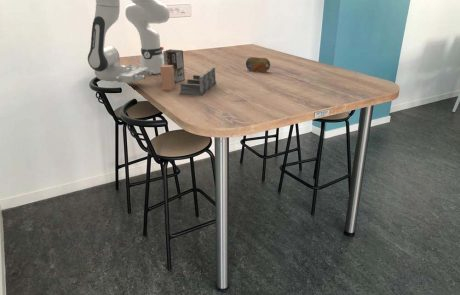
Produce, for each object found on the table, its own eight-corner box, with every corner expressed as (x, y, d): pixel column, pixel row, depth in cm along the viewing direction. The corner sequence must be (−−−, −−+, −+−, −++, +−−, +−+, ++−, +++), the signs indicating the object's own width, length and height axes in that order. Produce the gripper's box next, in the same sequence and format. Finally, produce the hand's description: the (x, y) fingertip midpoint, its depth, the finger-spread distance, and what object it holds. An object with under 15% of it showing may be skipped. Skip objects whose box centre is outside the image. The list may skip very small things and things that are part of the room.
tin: (245, 70, 227) (245, 56, 223) (247, 69, 229) (247, 55, 225) (268, 73, 220) (269, 58, 217) (270, 72, 223) (271, 57, 219)
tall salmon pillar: (166, 87, 195) (164, 64, 190) (174, 88, 193) (173, 65, 188) (162, 89, 191) (160, 66, 186) (171, 90, 190) (169, 67, 184)
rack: (195, 82, 203) (194, 66, 199) (216, 83, 200) (215, 67, 196) (180, 93, 185) (178, 75, 181) (203, 95, 182) (202, 76, 178)
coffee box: (185, 79, 209) (183, 50, 202) (178, 82, 204) (176, 52, 197) (172, 77, 213) (170, 48, 207) (165, 80, 208) (162, 50, 202)
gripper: (112, 72, 185) (137, 74, 182) (133, 63, 203) (156, 65, 199) (114, 85, 188) (139, 86, 184) (134, 75, 206) (157, 76, 202)
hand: (148, 75), depth 192 cm, fingers open, 8 cm apart
